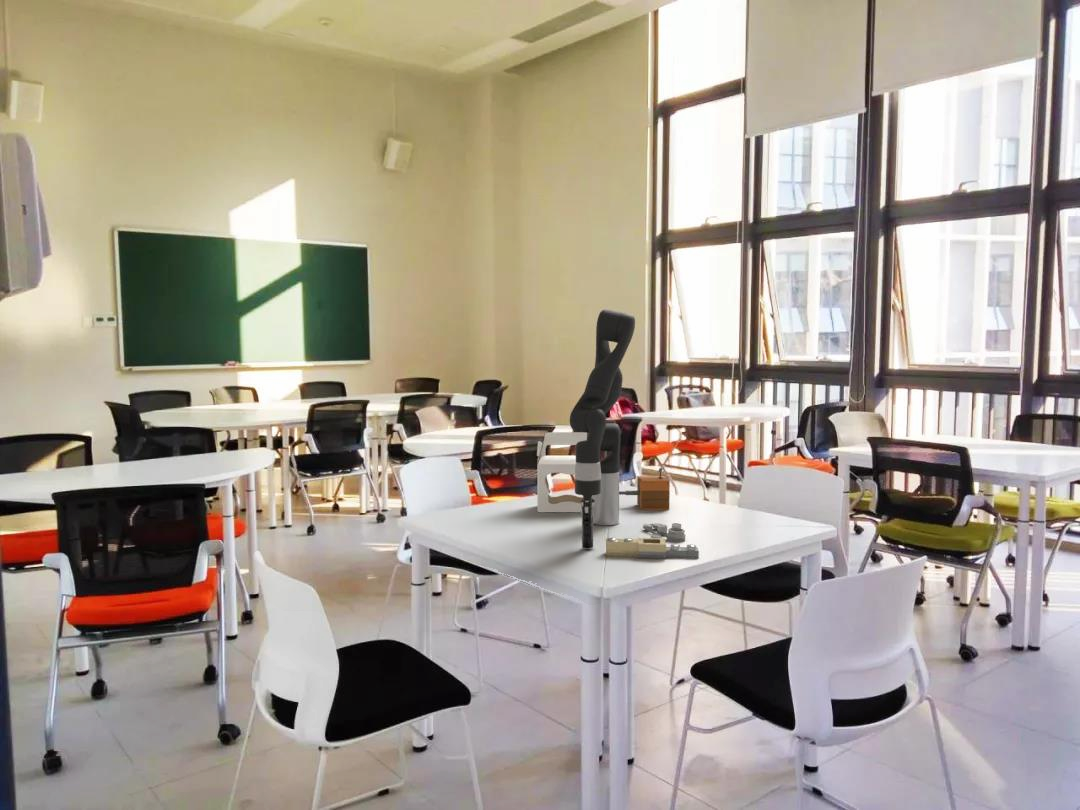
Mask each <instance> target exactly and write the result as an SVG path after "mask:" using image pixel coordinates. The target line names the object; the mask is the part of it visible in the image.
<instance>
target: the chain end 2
mask: <svg viewBox="0 0 1080 810" xmlns="http://www.w3.org/2000/svg"><path fill="white" fill-rule="evenodd" d="M699 554H700V551H699V548H698V546H697V545H696V544H692V543H691V544H686V546H681V545H680V544H678V543H673V544H670V546H666V552H650V551H638V557H637V558H638V559H648V560H649V559H650V560H651V559H652V560H654V559H655V560H666V559H667V558H675V559H676V558H678V559H679V558H682V559H685V558H684V557H688V558H687V559H690V558H689V557H694V558H693V559H699Z"/></svg>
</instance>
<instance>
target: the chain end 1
mask: <svg viewBox="0 0 1080 810" xmlns="http://www.w3.org/2000/svg"><path fill="white" fill-rule="evenodd" d="M665 540H666V538H665V537H664V538H663V537H661V538H651V537H637V538H631V537H627V538H616V537H608V538H605V557H631V558H632V557H637V558H638V551H650V552H666V547H667V542H665Z"/></svg>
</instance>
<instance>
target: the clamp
mask: <svg viewBox="0 0 1080 810" xmlns="http://www.w3.org/2000/svg"><path fill="white" fill-rule="evenodd" d="M662 471H663V469H662V468H659V471H658V472H659V475H637V476H636V477H637V480H636V481H637V483H636V484H637V486H636V488H637V489H636V490H624V491H622V490H621V491H620V490H619V496H620V495H622V496H623V495H624V496H637V499H636V503H637V504H638V505H637V506H638V508H639V509H640V510H641V511H670V482H671V481H670V479H669V478H668V477H667V476H666V475H662Z"/></svg>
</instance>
